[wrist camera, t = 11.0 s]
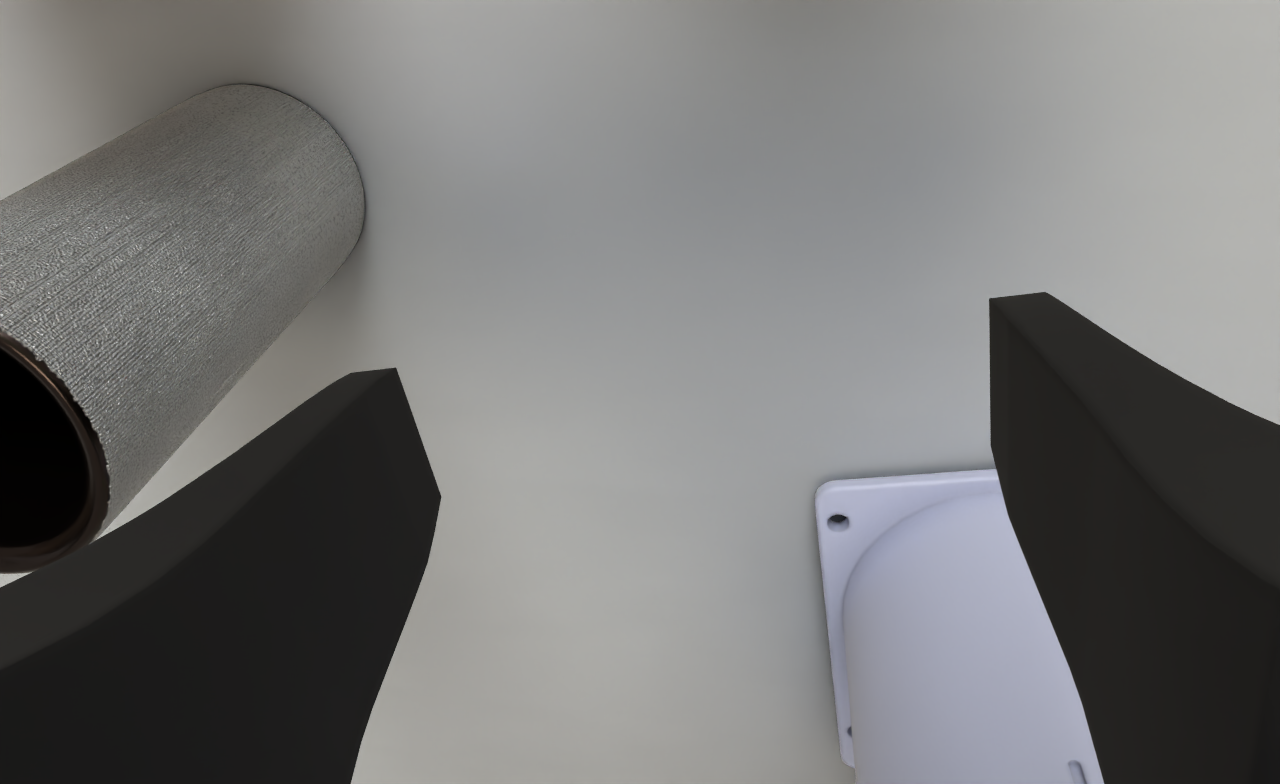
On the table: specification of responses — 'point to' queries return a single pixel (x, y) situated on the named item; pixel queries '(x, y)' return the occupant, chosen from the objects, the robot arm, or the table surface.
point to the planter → (153, 298)
